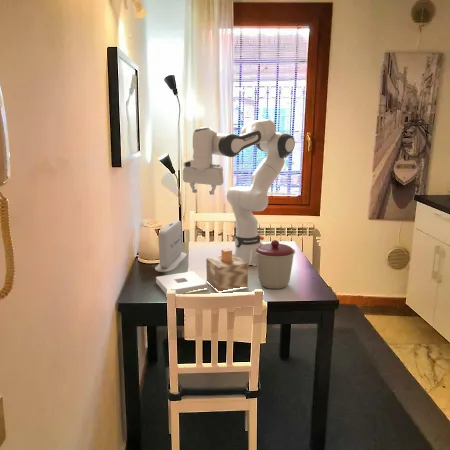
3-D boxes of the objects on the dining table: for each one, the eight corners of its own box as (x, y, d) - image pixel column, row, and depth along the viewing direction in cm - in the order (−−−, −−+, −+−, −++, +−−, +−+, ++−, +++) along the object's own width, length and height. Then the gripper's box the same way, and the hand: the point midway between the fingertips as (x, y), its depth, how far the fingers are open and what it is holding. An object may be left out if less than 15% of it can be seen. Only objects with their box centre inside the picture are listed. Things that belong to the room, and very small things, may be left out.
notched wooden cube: (234, 278, 218) (234, 254, 215) (247, 288, 206) (247, 263, 203) (206, 283, 213) (206, 258, 210) (219, 293, 200) (218, 267, 197)
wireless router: (171, 272, 227) (170, 233, 222) (152, 271, 229) (150, 232, 224) (188, 253, 256) (188, 218, 251) (171, 252, 258) (170, 217, 253)
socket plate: (192, 277, 220) (192, 271, 220) (207, 290, 204) (207, 283, 204) (156, 283, 213) (156, 276, 212) (168, 297, 197) (168, 290, 196)
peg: (228, 269, 210) (228, 248, 208) (232, 271, 207) (232, 250, 204) (221, 270, 209) (221, 249, 206) (224, 273, 205) (224, 251, 203)
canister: (255, 277, 220) (255, 234, 215) (293, 278, 218) (294, 235, 213) (253, 291, 203) (253, 245, 198) (294, 293, 201) (296, 247, 196)
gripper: (226, 164, 207) (226, 194, 210) (188, 161, 217) (189, 190, 220) (218, 165, 201) (218, 196, 205) (180, 162, 211) (181, 192, 215)
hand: (203, 193), depth 212 cm, fingers open, 8 cm apart
